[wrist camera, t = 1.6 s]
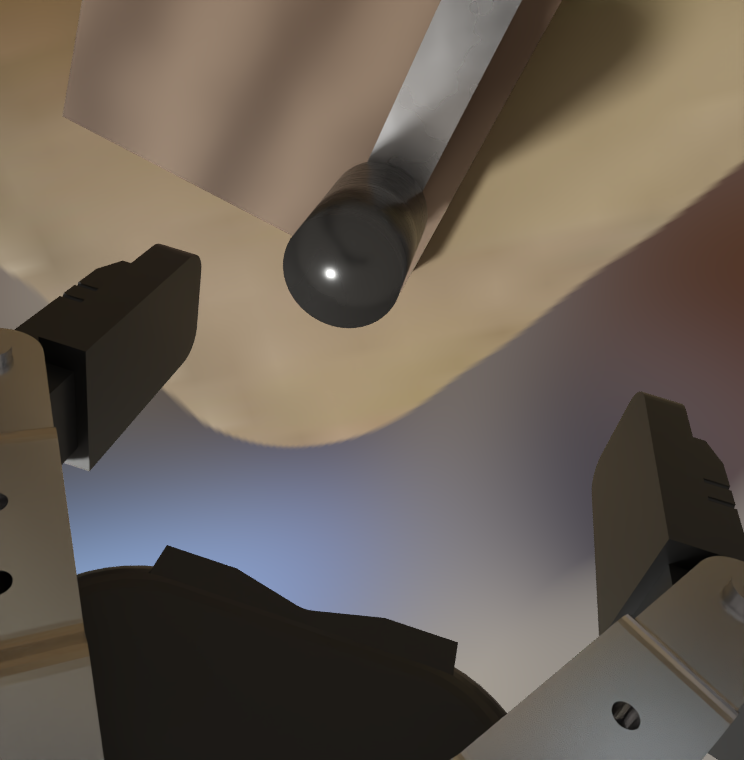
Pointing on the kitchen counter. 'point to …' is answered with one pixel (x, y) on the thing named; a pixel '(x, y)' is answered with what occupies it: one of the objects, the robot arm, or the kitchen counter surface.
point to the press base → (274, 92)
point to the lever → (393, 176)
